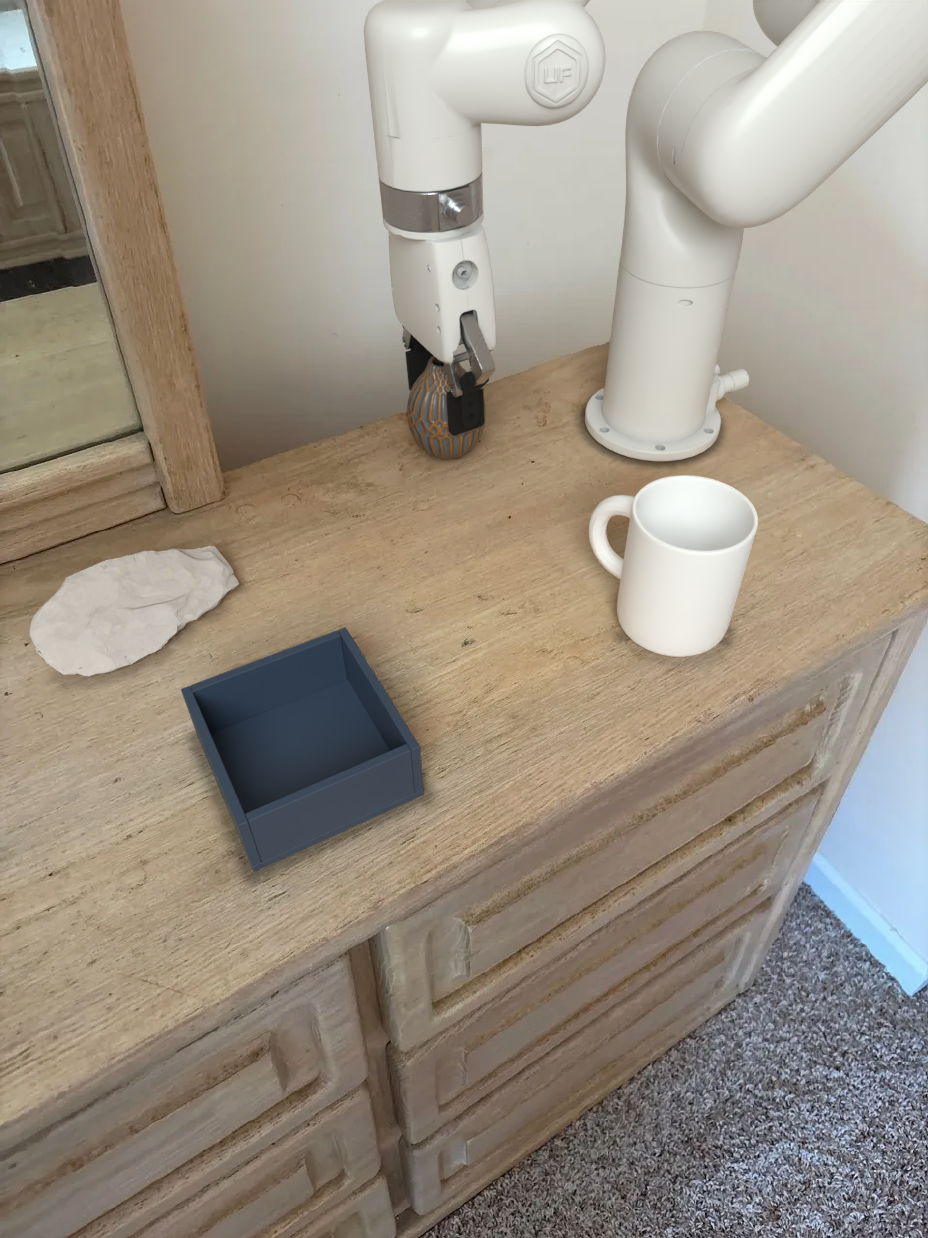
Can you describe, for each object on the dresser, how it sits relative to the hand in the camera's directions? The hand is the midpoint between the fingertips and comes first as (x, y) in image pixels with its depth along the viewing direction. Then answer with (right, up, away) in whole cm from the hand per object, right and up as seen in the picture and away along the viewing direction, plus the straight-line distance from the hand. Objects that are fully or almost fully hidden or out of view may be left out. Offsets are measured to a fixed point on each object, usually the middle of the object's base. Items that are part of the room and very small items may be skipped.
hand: (445, 406), depth 79 cm
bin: (-8, -28, -21) cm, 36 cm away
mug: (+16, -18, -11) cm, 26 cm away
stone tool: (-22, -19, -11) cm, 31 cm away
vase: (0, -3, +3) cm, 4 cm away
